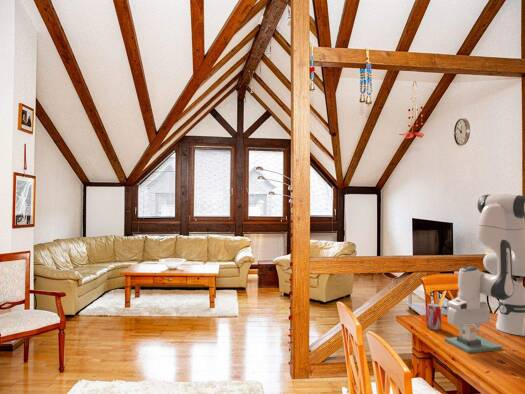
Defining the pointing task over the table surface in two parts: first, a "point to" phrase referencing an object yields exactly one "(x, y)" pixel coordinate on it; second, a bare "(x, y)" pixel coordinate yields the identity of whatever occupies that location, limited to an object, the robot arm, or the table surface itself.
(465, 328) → the plug
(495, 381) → the table surface
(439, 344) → the table surface
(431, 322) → the soda can
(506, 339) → the table surface
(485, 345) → the board
